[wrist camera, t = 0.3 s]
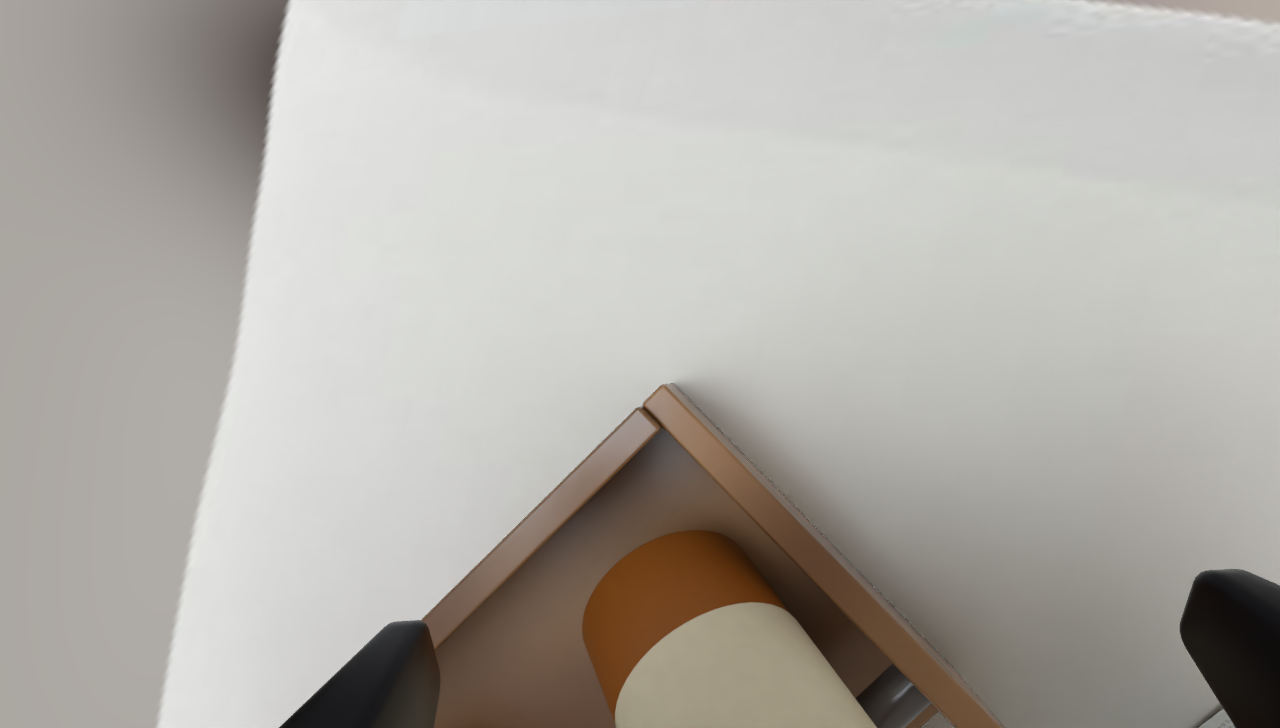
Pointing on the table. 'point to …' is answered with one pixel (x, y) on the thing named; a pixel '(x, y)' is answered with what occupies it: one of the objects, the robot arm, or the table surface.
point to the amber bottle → (706, 644)
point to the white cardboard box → (1218, 721)
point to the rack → (626, 519)
